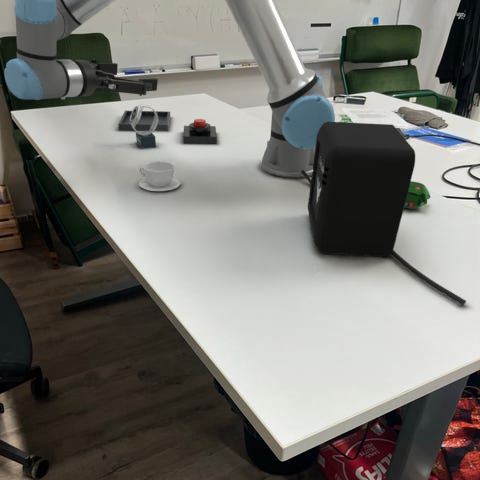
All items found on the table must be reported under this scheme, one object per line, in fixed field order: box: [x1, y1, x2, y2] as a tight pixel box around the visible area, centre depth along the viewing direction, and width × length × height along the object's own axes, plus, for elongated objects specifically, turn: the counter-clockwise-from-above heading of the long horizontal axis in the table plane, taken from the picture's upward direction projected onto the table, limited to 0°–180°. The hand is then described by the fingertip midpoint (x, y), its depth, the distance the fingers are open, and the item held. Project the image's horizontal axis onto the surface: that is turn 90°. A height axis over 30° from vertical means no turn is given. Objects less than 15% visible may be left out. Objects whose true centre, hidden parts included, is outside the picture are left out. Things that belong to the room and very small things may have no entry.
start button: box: [193, 118, 207, 127], centre depth 146 cm, size 4×4×2 cm
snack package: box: [404, 180, 431, 210], centre depth 111 cm, size 7×16×5 cm, turn 68°
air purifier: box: [307, 121, 416, 258], centre depth 92 cm, size 20×15×20 cm
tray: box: [117, 110, 171, 132], centre depth 160 cm, size 18×16×2 cm
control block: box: [182, 122, 218, 145], centre depth 148 cm, size 12×10×4 cm
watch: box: [130, 104, 158, 149], centre depth 138 cm, size 6×8×11 cm
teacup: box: [138, 160, 181, 192], centre depth 115 cm, size 10×10×5 cm
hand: (136, 76), depth 125 cm, fingers open, 13 cm apart
